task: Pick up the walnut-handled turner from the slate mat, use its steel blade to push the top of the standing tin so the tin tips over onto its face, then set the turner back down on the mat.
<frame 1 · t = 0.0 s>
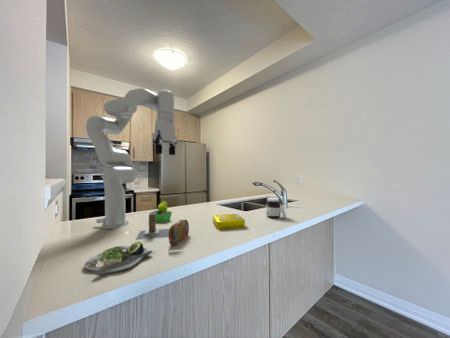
hand: (165, 154, 93), 37 cm above the counter, tool pointing down, fingers open, 9 cm apart
element tile: (228, 225, 107), on the counter
tin: (179, 242, 83), on the counter
spread jar: (276, 217, 123), on the counter
salad plate: (120, 261, 67), on the counter
fruit basket: (161, 221, 114), on the counter
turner: (152, 233, 91), point 1 cm above the counter, touching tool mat
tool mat: (156, 234, 91), on the counter
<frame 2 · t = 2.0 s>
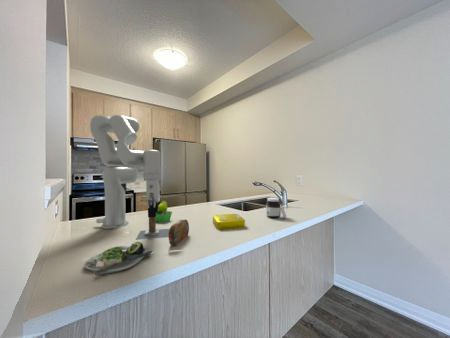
hand: (153, 214, 90), 9 cm above the counter, tool pointing down, fingers open, 9 cm apart
nothing on the counter moved.
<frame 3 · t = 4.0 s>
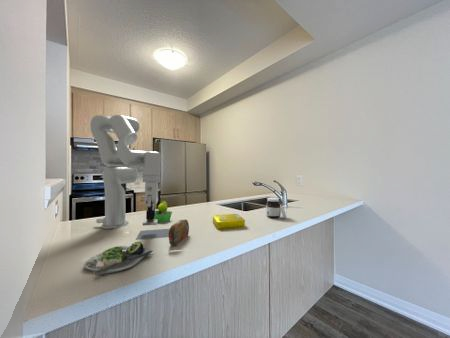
hand: (150, 217, 91), 8 cm above the counter, tool pointing down, fingers closed on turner, 2 cm apart
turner: (150, 223, 91), point 5 cm above the counter, touching gripper
everything else where it was.
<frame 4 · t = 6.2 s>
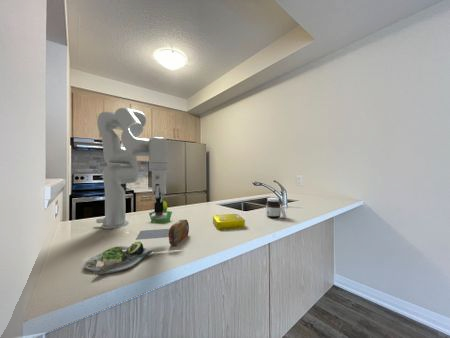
hand: (159, 211, 82), 13 cm above the counter, tool pointing down, fingers closed on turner, 2 cm apart
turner: (159, 217, 82), point 10 cm above the counter, touching gripper
everything else where it was.
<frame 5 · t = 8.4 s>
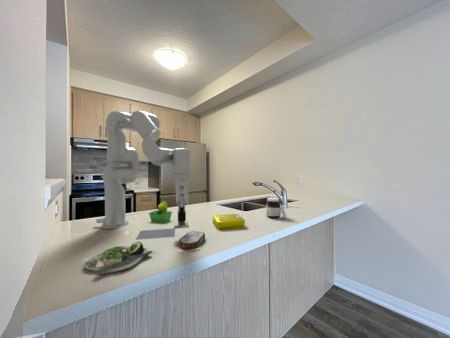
hand: (181, 219, 85), 9 cm above the counter, tool pointing down, fingers closed on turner, 2 cm apart
tin: (182, 238, 82), point 2 cm above the counter
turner: (181, 226, 85), point 6 cm above the counter, touching gripper
everything else where it was.
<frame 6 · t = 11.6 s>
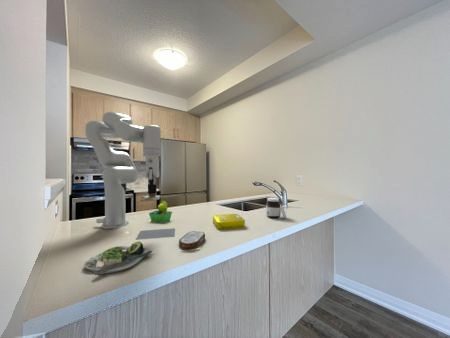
hand: (152, 192, 90), 19 cm above the counter, tool pointing down, fingers closed on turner, 2 cm apart
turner: (152, 199, 90), point 17 cm above the counter, touching gripper
everything else where it was.
when the fingers open (5 cm above the counter, at t = 14.3 s): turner drops 1 cm, resting on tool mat.
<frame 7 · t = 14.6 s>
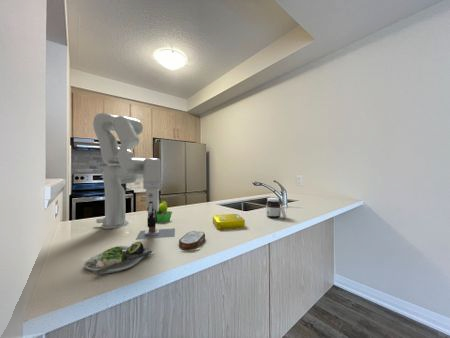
hand: (152, 224, 91), 5 cm above the counter, tool pointing down, fingers open, 5 cm apart
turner: (152, 233, 91), point 1 cm above the counter, touching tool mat
everything else where it was.
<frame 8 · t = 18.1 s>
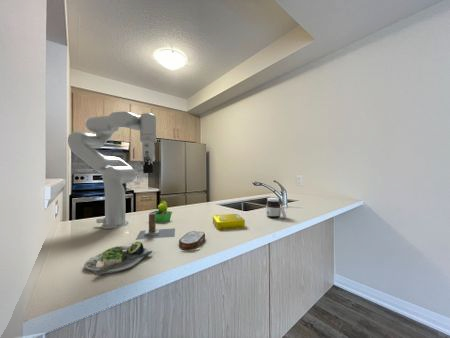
hand: (148, 172, 99), 28 cm above the counter, tool pointing down, fingers open, 9 cm apart
nothing on the counter moved.
at the end: tin tilted 94°; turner inside the target area on the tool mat (2.0 cm from its centre), point 0.6 cm above the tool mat's base; the gripper is holding nothing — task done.
